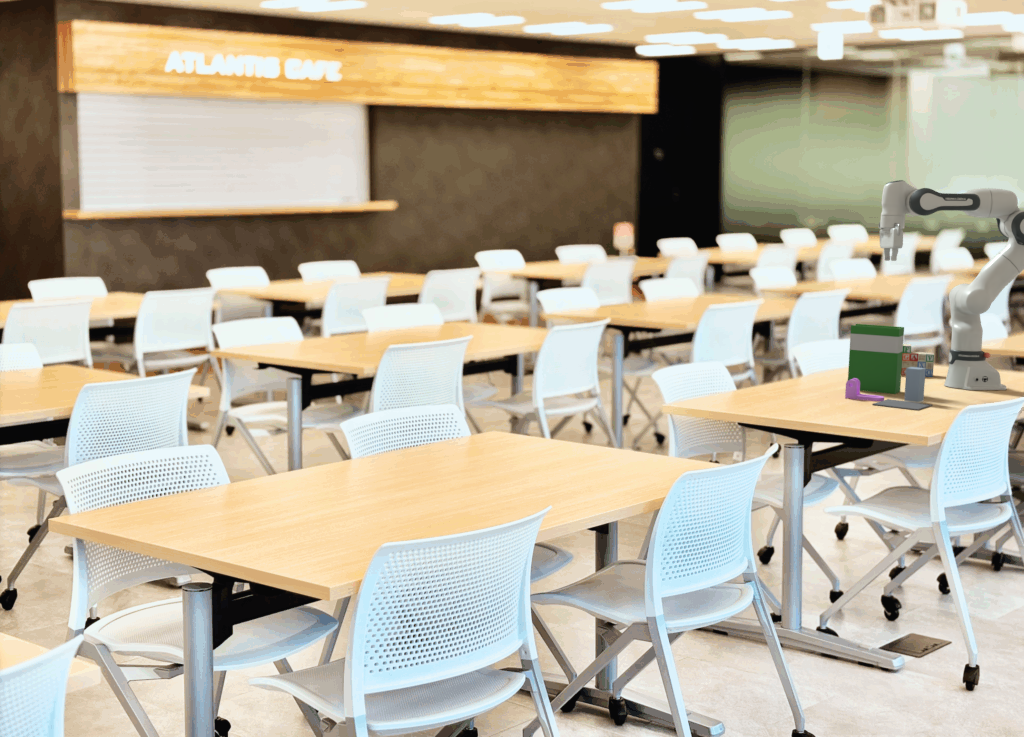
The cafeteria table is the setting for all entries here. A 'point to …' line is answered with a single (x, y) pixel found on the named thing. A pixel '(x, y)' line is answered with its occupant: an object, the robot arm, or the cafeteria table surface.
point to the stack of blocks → (917, 360)
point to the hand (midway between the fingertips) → (890, 260)
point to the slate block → (914, 384)
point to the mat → (902, 404)
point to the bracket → (854, 392)
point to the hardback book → (876, 357)
